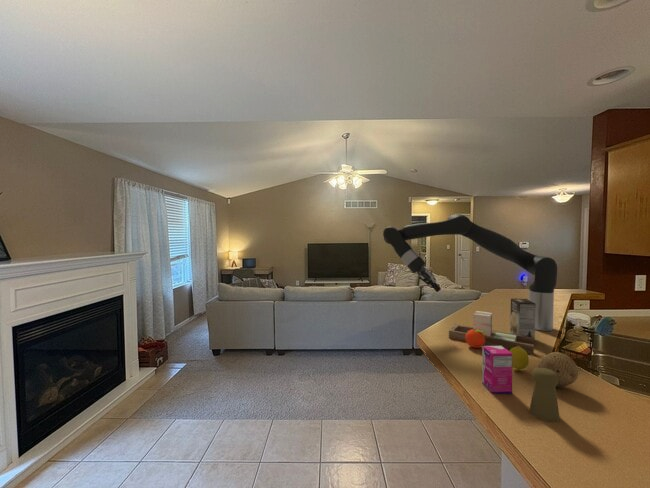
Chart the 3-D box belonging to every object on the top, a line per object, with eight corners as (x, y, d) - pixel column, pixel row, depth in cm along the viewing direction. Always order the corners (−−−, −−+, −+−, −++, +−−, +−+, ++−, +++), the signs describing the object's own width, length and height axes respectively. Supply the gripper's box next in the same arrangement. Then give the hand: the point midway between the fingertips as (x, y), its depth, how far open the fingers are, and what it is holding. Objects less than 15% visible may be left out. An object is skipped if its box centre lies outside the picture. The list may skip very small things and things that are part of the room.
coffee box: (509, 334, 132) (509, 297, 132) (525, 335, 131) (526, 298, 130) (518, 341, 123) (518, 302, 123) (535, 342, 122) (536, 303, 122)
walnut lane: (455, 331, 137) (455, 324, 137) (534, 345, 120) (534, 337, 120) (448, 337, 128) (448, 330, 128) (533, 354, 111) (533, 345, 111)
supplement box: (481, 383, 89) (481, 345, 89) (501, 383, 89) (502, 345, 89) (491, 394, 83) (492, 353, 83) (513, 394, 83) (514, 353, 83)
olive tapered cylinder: (523, 407, 77) (524, 365, 76) (545, 406, 77) (546, 364, 77) (542, 422, 71) (543, 376, 70) (566, 421, 71) (567, 375, 71)
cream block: (476, 329, 130) (476, 310, 129) (492, 332, 126) (492, 313, 126) (473, 333, 125) (473, 314, 125) (489, 336, 121) (490, 316, 121)
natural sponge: (580, 399, 81) (581, 362, 80) (539, 390, 85) (540, 355, 85) (575, 384, 88) (575, 351, 88) (537, 377, 93) (538, 345, 93)
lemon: (525, 368, 99) (525, 344, 99) (530, 375, 94) (531, 350, 94) (506, 365, 101) (506, 342, 101) (510, 373, 96) (510, 348, 96)
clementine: (490, 347, 117) (490, 329, 117) (485, 353, 112) (485, 334, 112) (468, 342, 123) (468, 325, 122) (462, 347, 117) (462, 329, 117)
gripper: (414, 256, 135) (441, 287, 128) (423, 255, 145) (449, 283, 139) (402, 267, 138) (428, 298, 131) (412, 265, 149) (437, 293, 142)
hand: (439, 290), depth 135 cm, fingers closed
